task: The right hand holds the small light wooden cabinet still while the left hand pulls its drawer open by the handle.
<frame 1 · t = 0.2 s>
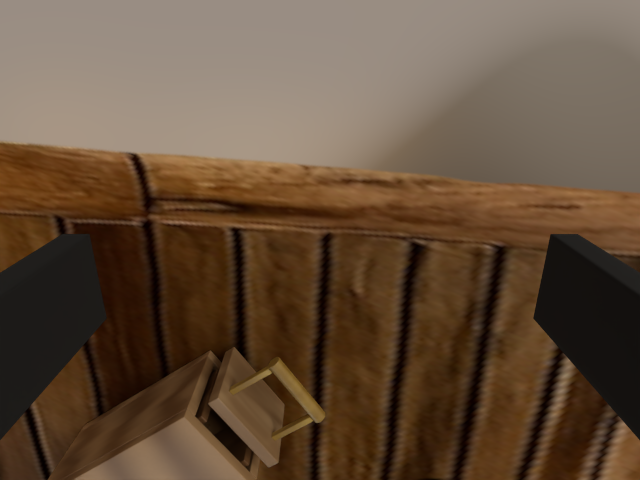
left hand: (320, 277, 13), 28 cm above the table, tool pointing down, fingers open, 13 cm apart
drawer: (209, 426, 44), point 5 cm above the table, slide at 1.8 cm
cabinet: (175, 418, 50), on the table
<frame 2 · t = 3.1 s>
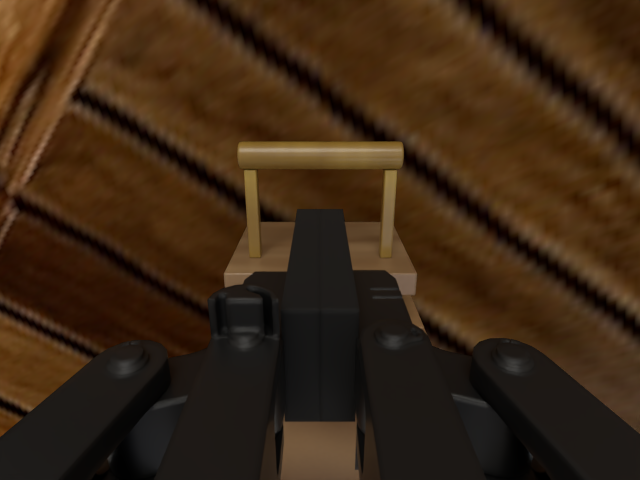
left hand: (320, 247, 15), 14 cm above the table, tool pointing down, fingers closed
drawer: (320, 332, 26), point 5 cm above the table, slide at 1.8 cm
cabinet: (320, 370, 33), on the table, touching right hand
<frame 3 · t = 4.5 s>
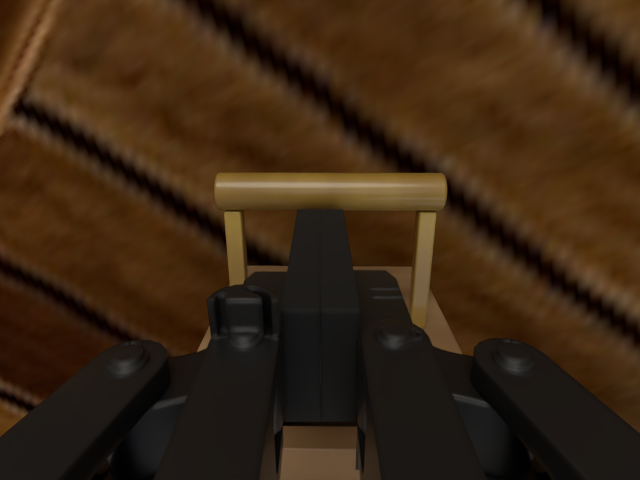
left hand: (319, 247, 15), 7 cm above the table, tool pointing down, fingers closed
drawer: (327, 411, 20), point 5 cm above the table, slide at 1.8 cm, touching left hand
cabinet: (327, 440, 27), on the table, touching right hand
when the right hand's fingers open (5 cm above the table, at t = 7.6 s): cabinet stays where it is, on the table.
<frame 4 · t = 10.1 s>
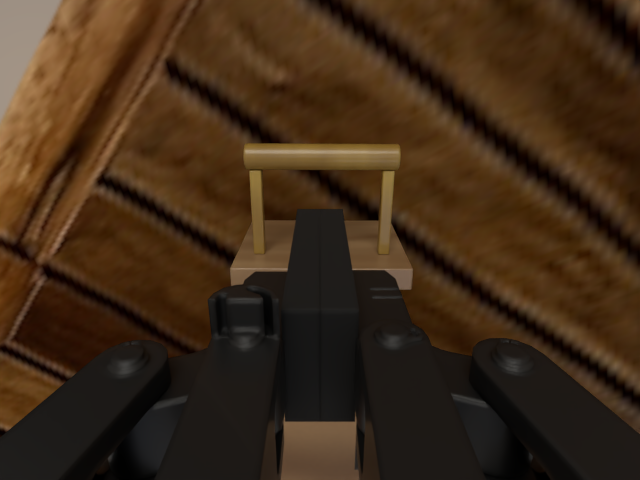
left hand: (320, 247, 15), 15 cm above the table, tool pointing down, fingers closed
drawer: (320, 326, 27), point 5 cm above the table, slide at 7.3 cm
cabinet: (320, 418, 36), on the table
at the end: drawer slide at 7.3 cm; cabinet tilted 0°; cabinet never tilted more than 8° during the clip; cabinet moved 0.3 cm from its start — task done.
